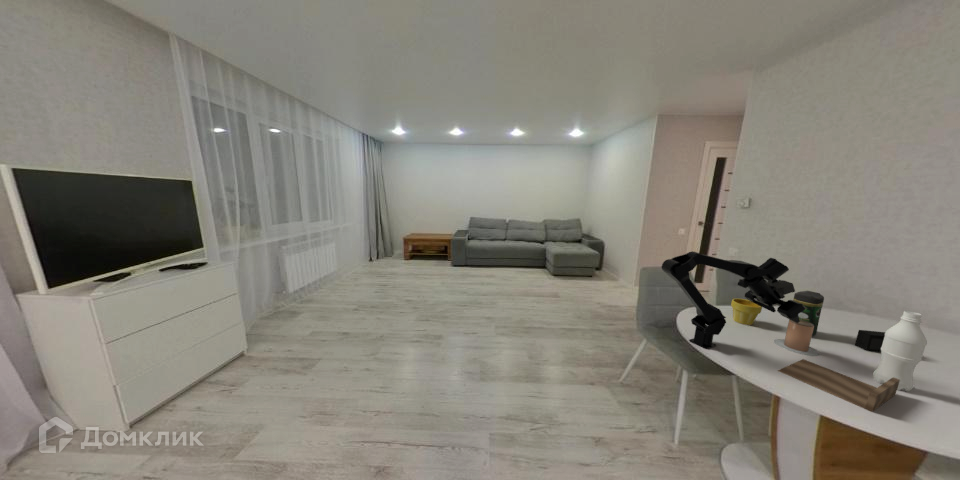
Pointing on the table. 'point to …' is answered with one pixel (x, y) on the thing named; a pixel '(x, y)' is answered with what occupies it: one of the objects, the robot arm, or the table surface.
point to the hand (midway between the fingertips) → (785, 316)
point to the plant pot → (745, 311)
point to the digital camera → (870, 340)
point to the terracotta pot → (799, 335)
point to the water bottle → (901, 351)
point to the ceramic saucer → (809, 353)
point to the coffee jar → (810, 307)
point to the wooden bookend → (842, 384)
